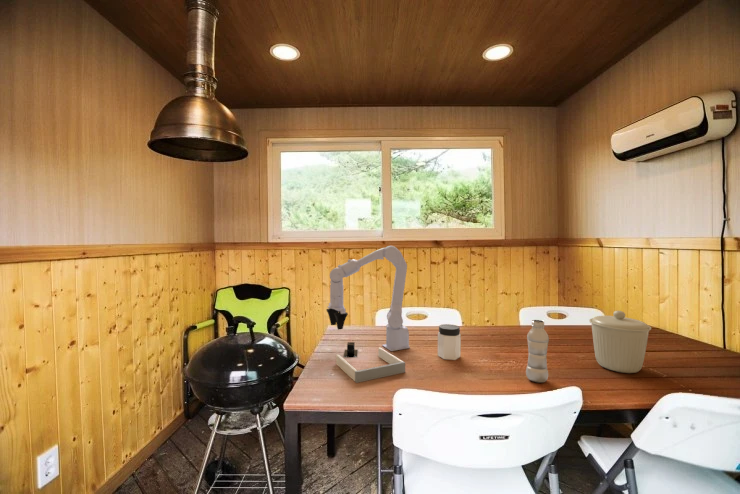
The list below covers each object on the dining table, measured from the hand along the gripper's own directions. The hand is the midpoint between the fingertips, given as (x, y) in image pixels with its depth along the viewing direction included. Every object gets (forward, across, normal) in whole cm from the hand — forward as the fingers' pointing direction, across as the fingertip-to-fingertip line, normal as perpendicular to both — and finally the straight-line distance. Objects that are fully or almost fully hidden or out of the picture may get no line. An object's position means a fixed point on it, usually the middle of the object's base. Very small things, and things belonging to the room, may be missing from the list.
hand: (336, 326), depth 142 cm
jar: (+9, +31, +36) cm, 48 cm away
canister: (+9, +68, +83) cm, 108 cm away
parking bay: (+9, +26, +2) cm, 28 cm away
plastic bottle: (+9, +62, +46) cm, 78 cm away
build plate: (+10, +10, +2) cm, 14 cm away
